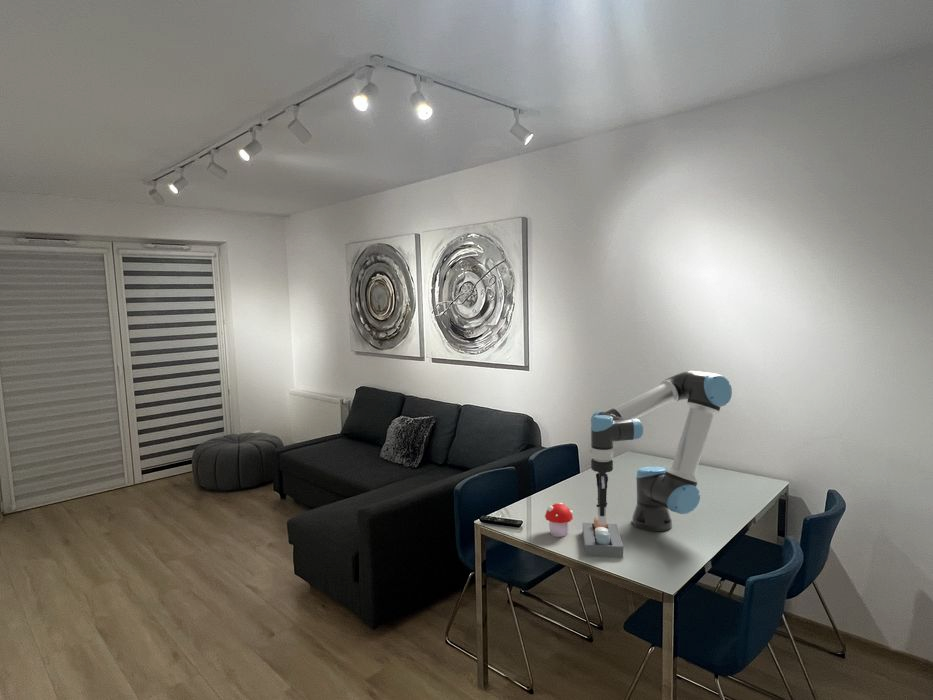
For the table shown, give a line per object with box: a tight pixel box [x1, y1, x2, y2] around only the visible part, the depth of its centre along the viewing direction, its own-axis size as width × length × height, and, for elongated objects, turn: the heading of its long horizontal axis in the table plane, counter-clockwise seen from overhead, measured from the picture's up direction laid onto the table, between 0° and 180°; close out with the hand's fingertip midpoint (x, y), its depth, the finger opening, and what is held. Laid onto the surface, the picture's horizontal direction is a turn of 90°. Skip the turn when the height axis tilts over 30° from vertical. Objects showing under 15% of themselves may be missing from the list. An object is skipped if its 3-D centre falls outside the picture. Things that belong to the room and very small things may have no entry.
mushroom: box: [544, 502, 574, 538], centre depth 209 cm, size 11×11×12 cm
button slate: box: [596, 531, 610, 545], centre depth 193 cm, size 5×5×4 cm
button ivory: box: [595, 527, 608, 537], centre depth 199 cm, size 5×5×4 cm
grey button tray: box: [582, 522, 624, 559], centre depth 199 cm, size 13×20×4 cm, turn 171°
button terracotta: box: [593, 516, 608, 530], centre depth 206 cm, size 5×5×4 cm
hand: (601, 523), depth 193 cm, fingers closed
